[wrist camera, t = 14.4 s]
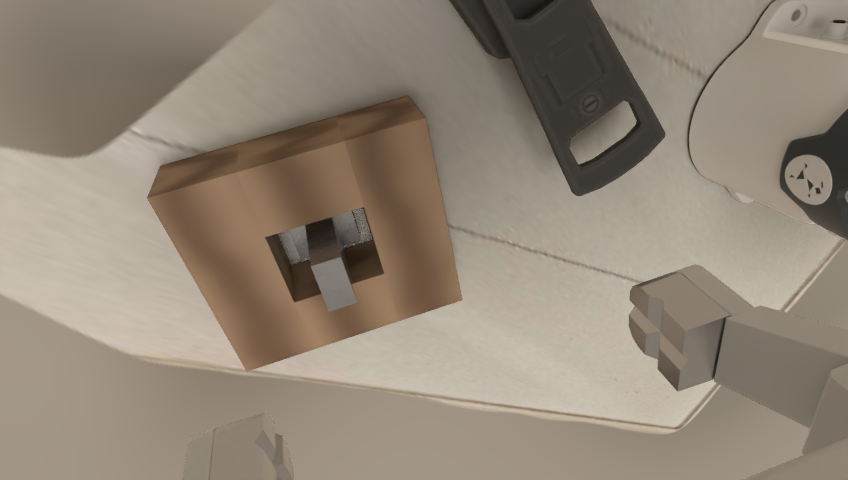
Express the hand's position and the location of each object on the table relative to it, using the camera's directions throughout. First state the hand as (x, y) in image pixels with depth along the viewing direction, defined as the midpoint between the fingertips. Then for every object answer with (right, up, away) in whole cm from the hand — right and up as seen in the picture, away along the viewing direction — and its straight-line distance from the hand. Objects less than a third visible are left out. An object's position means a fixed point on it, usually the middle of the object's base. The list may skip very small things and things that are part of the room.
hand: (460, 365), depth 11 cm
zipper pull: (+6, +19, +26) cm, 33 cm away
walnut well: (-9, +4, +30) cm, 32 cm away
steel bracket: (-9, +4, +30) cm, 32 cm away
